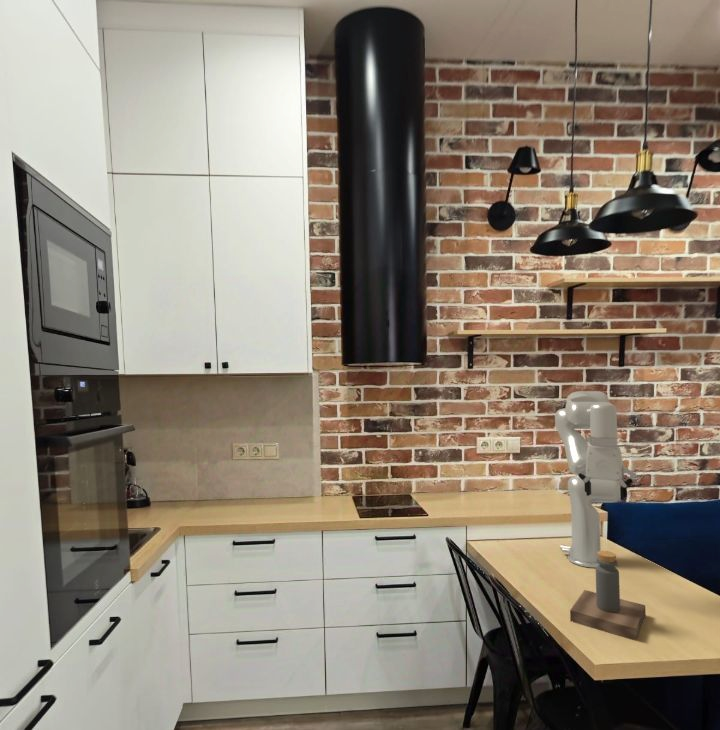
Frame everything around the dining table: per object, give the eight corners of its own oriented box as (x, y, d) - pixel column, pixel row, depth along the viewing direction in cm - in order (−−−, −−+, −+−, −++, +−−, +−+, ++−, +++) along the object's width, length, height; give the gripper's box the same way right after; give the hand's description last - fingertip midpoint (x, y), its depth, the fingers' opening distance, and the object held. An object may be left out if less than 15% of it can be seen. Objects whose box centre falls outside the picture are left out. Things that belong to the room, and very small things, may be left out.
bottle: (592, 602, 134) (591, 549, 134) (613, 602, 134) (611, 549, 134) (602, 612, 128) (601, 557, 128) (624, 612, 128) (622, 557, 128)
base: (570, 621, 129) (570, 610, 129) (584, 599, 142) (584, 589, 142) (636, 640, 119) (636, 628, 119) (645, 616, 132) (645, 605, 132)
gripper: (571, 441, 149) (573, 495, 148) (633, 446, 138) (635, 504, 138) (577, 439, 155) (579, 491, 154) (637, 443, 144) (639, 498, 143)
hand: (605, 497), depth 146 cm, fingers open, 9 cm apart
